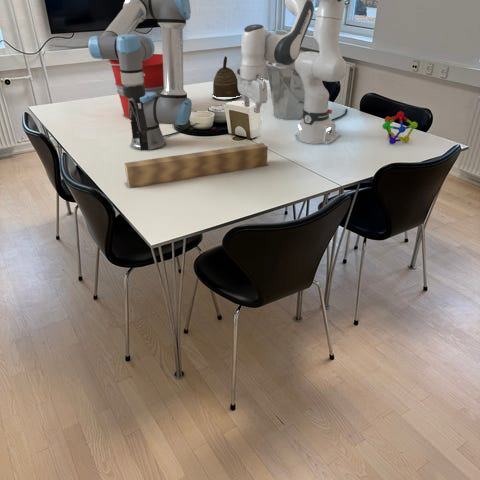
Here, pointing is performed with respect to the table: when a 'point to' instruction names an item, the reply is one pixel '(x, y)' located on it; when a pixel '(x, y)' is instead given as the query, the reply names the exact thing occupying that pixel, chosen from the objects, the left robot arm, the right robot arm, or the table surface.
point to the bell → (225, 82)
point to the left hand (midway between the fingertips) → (140, 143)
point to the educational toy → (398, 128)
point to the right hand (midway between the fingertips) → (251, 109)
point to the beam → (195, 164)
